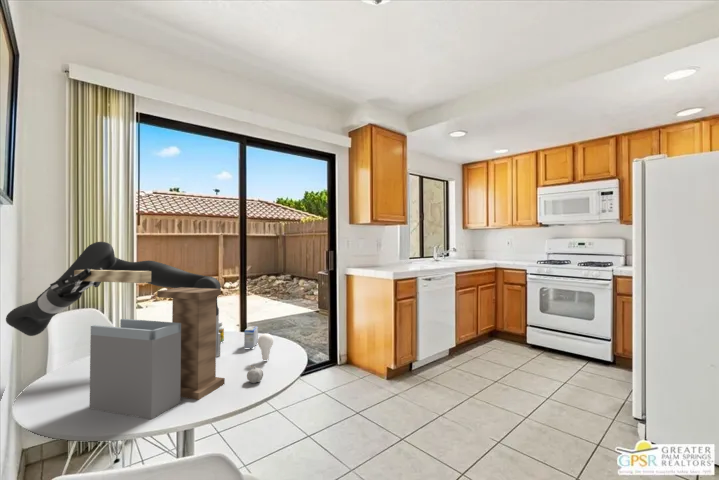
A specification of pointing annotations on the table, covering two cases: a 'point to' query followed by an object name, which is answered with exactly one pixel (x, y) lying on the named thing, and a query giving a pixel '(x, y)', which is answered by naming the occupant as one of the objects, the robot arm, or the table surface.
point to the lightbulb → (265, 345)
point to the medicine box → (251, 337)
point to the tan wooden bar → (118, 276)
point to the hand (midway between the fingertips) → (95, 270)
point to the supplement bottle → (221, 332)
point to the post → (196, 339)
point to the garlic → (255, 374)
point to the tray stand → (135, 367)
